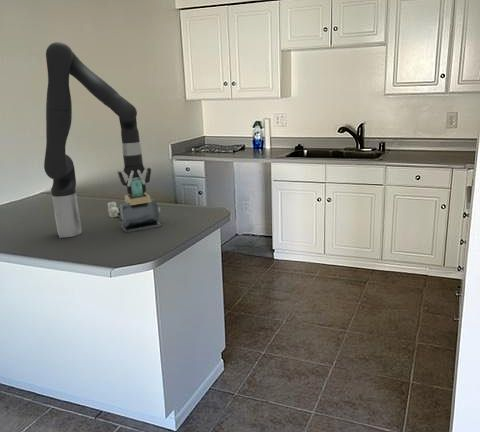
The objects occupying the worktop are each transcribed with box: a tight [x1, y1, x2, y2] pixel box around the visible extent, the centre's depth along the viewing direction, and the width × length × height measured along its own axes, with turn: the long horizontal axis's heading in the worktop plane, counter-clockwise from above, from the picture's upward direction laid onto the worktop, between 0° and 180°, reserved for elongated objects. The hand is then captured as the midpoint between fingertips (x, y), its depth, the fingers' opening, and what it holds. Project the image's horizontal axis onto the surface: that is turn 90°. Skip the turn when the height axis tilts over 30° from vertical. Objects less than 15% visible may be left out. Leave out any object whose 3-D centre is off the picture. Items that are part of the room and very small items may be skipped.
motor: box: [119, 192, 162, 233], centre depth 201 cm, size 16×10×14 cm, turn 116°
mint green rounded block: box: [130, 178, 143, 197], centre depth 197 cm, size 7×5×7 cm
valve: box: [107, 201, 121, 220], centre depth 217 cm, size 7×7×12 cm
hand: (137, 193), depth 198 cm, fingers closed on mint green rounded block, 5 cm apart
